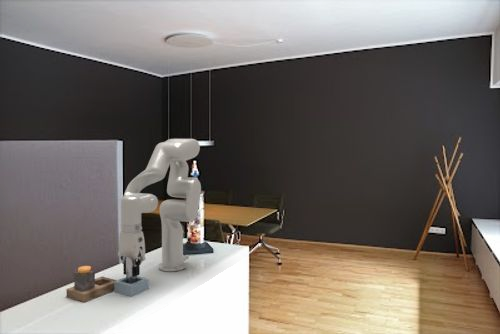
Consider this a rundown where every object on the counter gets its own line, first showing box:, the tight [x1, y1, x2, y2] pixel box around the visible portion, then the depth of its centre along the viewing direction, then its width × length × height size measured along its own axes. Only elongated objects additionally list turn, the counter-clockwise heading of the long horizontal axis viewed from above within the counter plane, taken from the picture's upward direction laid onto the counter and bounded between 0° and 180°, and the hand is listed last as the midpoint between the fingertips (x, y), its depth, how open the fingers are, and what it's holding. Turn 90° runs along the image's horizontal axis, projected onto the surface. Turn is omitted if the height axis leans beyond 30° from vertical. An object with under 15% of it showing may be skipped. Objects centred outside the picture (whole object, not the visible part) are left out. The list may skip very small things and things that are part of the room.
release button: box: [77, 265, 92, 274], centre depth 142 cm, size 4×4×8 cm
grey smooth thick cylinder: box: [125, 257, 137, 284], centre depth 148 cm, size 4×4×12 cm
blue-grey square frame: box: [113, 275, 149, 297], centre depth 149 cm, size 9×9×4 cm
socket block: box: [65, 270, 118, 303], centre depth 146 cm, size 16×10×9 cm, turn 150°
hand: (131, 274), depth 148 cm, fingers closed on grey smooth thick cylinder, 4 cm apart
